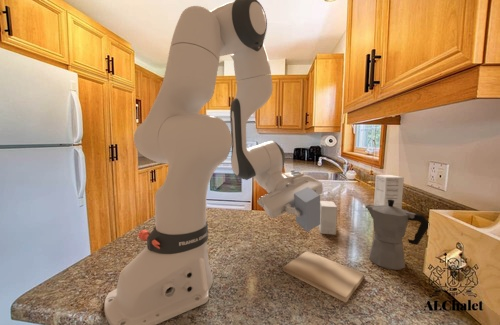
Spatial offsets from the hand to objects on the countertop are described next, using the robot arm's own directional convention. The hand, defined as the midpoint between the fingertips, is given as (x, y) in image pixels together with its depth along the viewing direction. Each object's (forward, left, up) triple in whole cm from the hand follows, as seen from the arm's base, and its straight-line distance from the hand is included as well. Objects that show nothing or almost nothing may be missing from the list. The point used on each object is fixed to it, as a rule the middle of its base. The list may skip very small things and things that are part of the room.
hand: (309, 209), depth 63 cm
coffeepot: (+14, -18, -15) cm, 27 cm away
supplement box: (+75, -4, -15) cm, 77 cm away
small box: (+23, +5, -15) cm, 28 cm away
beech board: (-5, -7, -14) cm, 17 cm away
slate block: (+3, +2, -5) cm, 6 cm away
